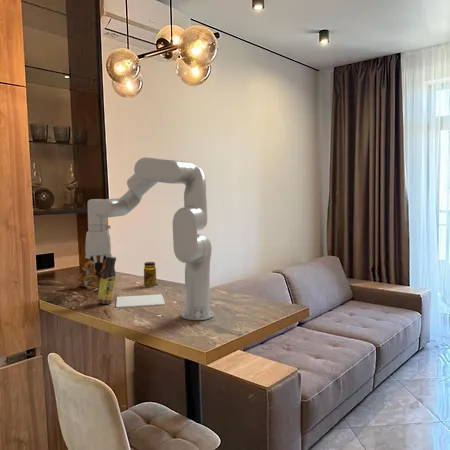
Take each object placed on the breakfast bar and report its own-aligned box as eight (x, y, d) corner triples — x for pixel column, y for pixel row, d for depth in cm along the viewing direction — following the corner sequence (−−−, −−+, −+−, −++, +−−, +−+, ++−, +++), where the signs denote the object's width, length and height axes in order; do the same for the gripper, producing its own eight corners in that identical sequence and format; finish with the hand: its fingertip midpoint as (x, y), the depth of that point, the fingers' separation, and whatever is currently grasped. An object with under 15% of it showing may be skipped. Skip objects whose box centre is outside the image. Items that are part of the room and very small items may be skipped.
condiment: (142, 287, 209) (141, 263, 208) (144, 283, 218) (144, 260, 217) (157, 287, 210) (156, 263, 209) (159, 283, 218) (158, 260, 217)
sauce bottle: (106, 305, 177) (112, 258, 176) (93, 302, 179) (100, 256, 178) (115, 302, 183) (121, 257, 182) (103, 299, 185) (109, 254, 184)
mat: (164, 304, 179) (164, 303, 179) (116, 307, 174) (116, 306, 174) (162, 295, 194) (161, 294, 194) (117, 297, 190) (117, 296, 190)
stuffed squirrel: (77, 286, 212) (76, 260, 210) (103, 282, 220) (103, 257, 219) (84, 290, 204) (83, 263, 203) (112, 286, 213) (111, 260, 212)
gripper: (116, 227, 183) (117, 269, 185) (79, 228, 179) (81, 270, 181) (115, 229, 176) (116, 272, 177) (77, 229, 172) (79, 274, 174)
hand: (98, 271), depth 179 cm, fingers closed
